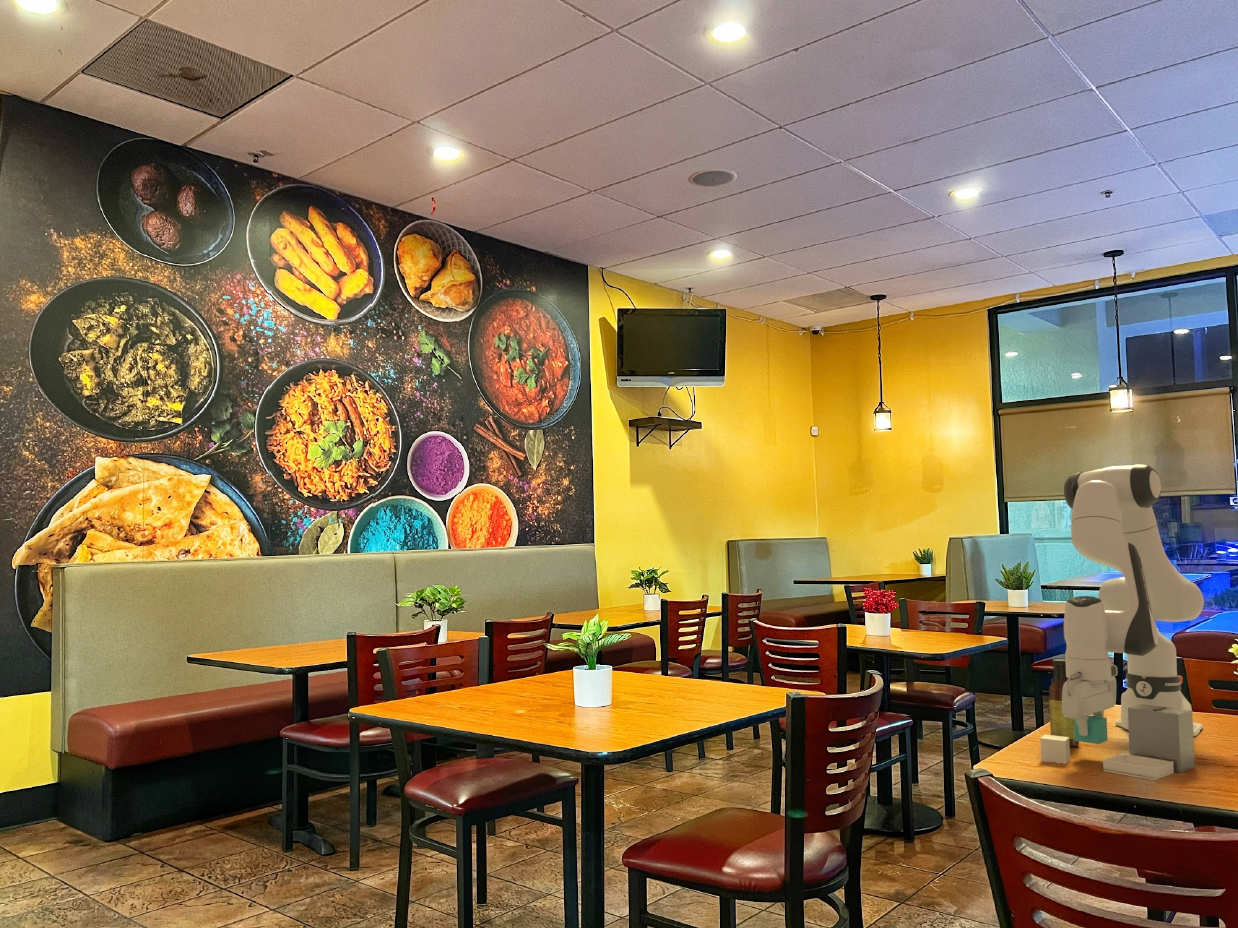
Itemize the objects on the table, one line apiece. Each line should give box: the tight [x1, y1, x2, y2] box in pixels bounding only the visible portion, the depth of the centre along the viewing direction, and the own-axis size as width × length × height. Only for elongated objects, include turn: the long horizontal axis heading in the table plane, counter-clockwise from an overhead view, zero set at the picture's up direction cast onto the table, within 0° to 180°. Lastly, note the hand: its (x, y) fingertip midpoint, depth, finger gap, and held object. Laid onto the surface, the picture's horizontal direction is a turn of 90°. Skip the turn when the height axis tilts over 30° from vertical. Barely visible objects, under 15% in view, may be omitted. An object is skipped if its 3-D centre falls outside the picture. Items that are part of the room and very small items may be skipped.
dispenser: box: [1128, 704, 1196, 774], centre depth 203 cm, size 8×10×12 cm
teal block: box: [1074, 715, 1109, 745], centre depth 209 cm, size 5×5×5 cm
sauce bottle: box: [1048, 658, 1080, 748], centre depth 224 cm, size 7×6×20 cm
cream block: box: [1040, 734, 1071, 765], centre depth 207 cm, size 5×5×5 cm
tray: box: [1102, 752, 1175, 781], centre depth 197 cm, size 10×10×2 cm
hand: (1090, 732), depth 209 cm, fingers closed on teal block, 5 cm apart
